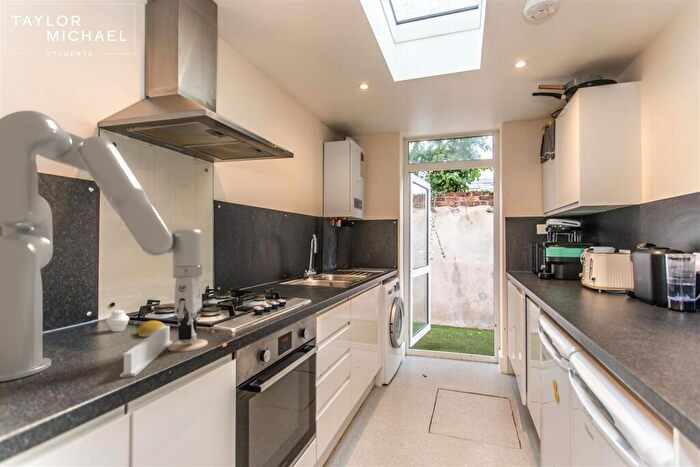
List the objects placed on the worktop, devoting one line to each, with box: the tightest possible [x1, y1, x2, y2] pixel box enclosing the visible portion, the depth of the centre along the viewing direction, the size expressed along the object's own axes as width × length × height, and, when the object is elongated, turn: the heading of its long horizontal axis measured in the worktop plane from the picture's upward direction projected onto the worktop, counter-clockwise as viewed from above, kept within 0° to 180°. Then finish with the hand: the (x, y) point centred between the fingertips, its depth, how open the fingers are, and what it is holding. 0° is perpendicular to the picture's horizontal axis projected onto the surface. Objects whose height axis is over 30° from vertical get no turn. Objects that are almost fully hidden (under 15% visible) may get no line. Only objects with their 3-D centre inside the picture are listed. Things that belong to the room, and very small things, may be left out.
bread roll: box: [136, 320, 167, 338], centre depth 108 cm, size 8×9×4 cm
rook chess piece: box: [178, 312, 198, 343], centre depth 95 cm, size 4×4×8 cm
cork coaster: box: [167, 338, 209, 353], centre depth 95 cm, size 10×10×1 cm
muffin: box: [106, 309, 130, 333], centre depth 111 cm, size 6×6×7 cm
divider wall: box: [119, 325, 173, 378], centre depth 86 cm, size 3×24×5 cm, turn 10°
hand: (187, 336), depth 95 cm, fingers closed on rook chess piece, 4 cm apart
